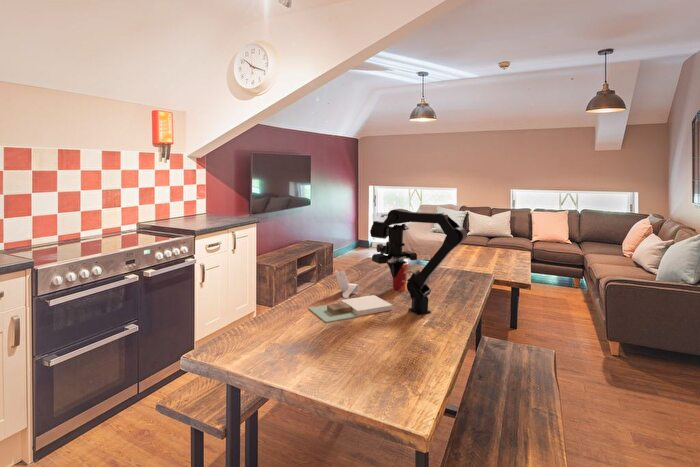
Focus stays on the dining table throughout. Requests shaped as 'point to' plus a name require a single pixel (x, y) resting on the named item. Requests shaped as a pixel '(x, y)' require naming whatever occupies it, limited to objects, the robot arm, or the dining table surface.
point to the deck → (368, 305)
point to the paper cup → (401, 278)
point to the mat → (328, 316)
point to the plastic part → (346, 285)
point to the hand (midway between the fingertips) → (393, 277)
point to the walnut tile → (339, 308)
